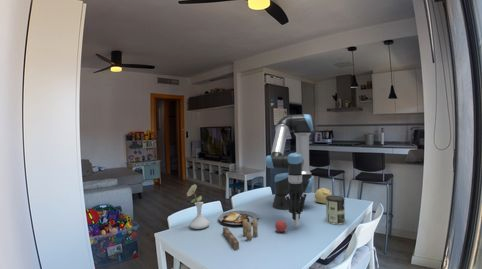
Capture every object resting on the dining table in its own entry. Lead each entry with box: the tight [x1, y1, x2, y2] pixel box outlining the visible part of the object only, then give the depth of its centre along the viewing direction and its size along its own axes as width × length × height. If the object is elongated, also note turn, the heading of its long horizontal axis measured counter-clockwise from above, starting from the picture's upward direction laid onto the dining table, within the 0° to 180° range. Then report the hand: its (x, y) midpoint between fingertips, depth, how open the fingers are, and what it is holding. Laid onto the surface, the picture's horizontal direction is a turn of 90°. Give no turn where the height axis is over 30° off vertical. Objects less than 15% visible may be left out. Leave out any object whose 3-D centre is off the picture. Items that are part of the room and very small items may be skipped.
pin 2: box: [246, 221, 252, 242], centre depth 127 cm, size 2×2×8 cm
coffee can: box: [325, 194, 346, 225], centre depth 149 cm, size 10×10×14 cm
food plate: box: [217, 210, 260, 226], centre depth 155 cm, size 25×23×4 cm
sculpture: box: [314, 187, 333, 205], centre depth 186 cm, size 11×12×11 cm
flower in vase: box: [186, 184, 211, 230], centre depth 145 cm, size 13×11×25 cm
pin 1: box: [242, 219, 247, 238], centre depth 132 cm, size 2×2×8 cm
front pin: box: [252, 218, 259, 238], centre depth 131 cm, size 2×2×8 cm
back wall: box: [222, 226, 240, 251], centre depth 126 cm, size 20×2×4 cm, turn 20°
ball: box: [274, 219, 287, 233], centre depth 136 cm, size 6×6×6 cm
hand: (296, 225), depth 139 cm, fingers closed
